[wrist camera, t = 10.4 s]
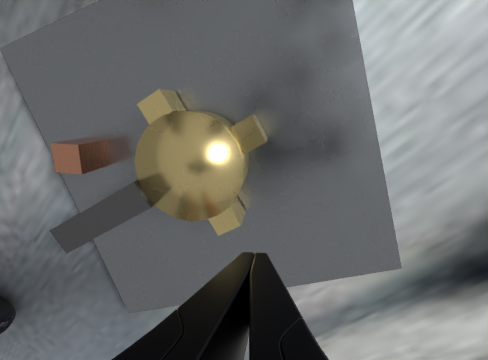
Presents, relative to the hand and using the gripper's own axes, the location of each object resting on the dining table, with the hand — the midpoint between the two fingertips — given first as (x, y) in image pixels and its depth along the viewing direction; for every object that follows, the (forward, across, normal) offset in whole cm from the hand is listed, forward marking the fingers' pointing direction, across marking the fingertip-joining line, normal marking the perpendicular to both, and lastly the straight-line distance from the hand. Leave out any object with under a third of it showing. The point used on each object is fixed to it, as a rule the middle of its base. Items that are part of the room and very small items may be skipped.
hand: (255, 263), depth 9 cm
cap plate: (+11, +5, -1) cm, 12 cm away
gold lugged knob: (+10, +8, 0) cm, 13 cm away
